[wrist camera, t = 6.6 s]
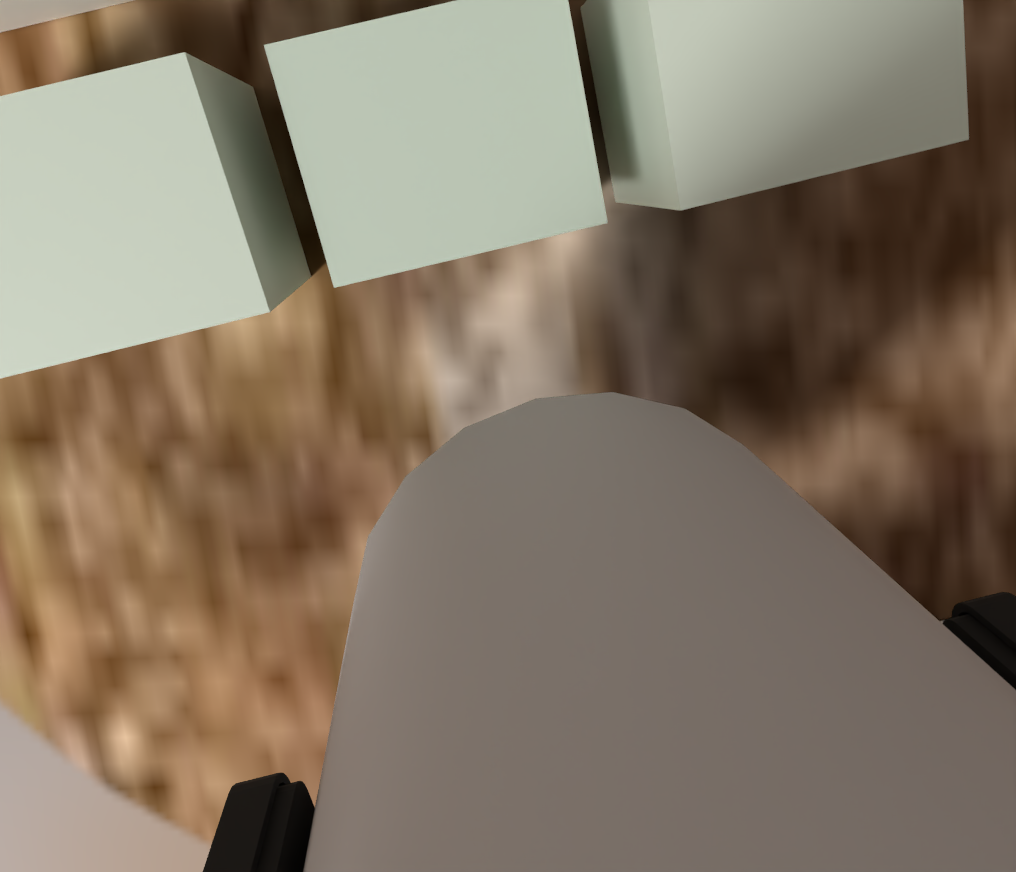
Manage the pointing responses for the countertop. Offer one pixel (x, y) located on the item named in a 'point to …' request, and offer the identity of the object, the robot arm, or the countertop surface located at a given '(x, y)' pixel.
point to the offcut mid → (440, 133)
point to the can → (646, 672)
